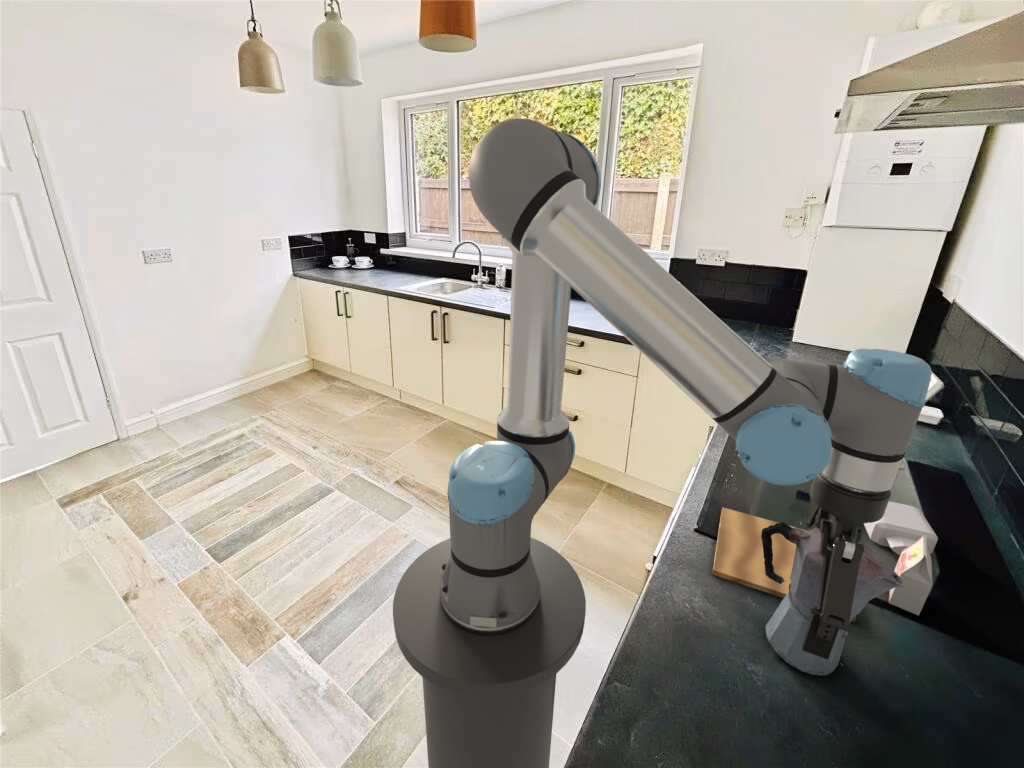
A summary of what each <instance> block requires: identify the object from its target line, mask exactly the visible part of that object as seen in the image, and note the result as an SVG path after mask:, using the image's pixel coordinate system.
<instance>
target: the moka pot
mask: <svg viewBox="0 0 1024 768" xmlns="http://www.w3.org/2000/svg"><path fill="white" fill-rule="evenodd" d="M790 526H791V525H789V524H787V522H783V521H781V522H778V523H776V524H775V525H774V526H773V525H770V526H769V527H767V528H763V529H762V534H761V538H762V545H763V553H764V555H763V556H764V559H765V561H764V564H765V575H766V576H767V577H769V578H770V579H772V580H774V581H776V582H777V583H780V584H782V582H784V581H785V580H784V579H783V577H781V576H779V575H777V574H775V573H774V567H773V564H772V562H773V553H772V551H773V549H772V538H771V535H773V534H775V533H779V534H782V535H783V536H784V537H785V538H786V539H787V540H788V541H790V542H792V543H794V544H796V551H795V556H794V562H793V567H792V572H791V577H790V579H791V583H790V584H789V593H787V595H786V596H785V597H784V598H782V600H781V602H780V603H779V605H778V607H777V608H776V609H775V611H774V613H773V614H772V615H771V617H770V619H769V620H768V621H767V623H766V625H765V634H766V638H767V641H768V643H769V645H770V646H771V648H772V649H773V650H774V652H775V653H776V654H777V655H778V656H779V657H780V658H781V659H782V660H783V661H784V662H786V663H787V664H788V665H790V666H791V667H794V668H795V669H797V670H798V671H800V672H804V673H806V674H809V675H812V676H821V677H824V676H829V675H830V674H832V673H833V672H834V671H835V670H836V668H837V667H838V666H839V664H840V663H839V662H840V660H841V656H842V652H843V649H844V645H845V640H846V638H847V637H848V635H849V632H848V630H847V631H845V630H842V629H839V630H838V633H837V636H836V639H835V642H834V644H833V647H832V650H831V653H830V656H829V659H828V660H827V659H825V658H822V657H819V656H816V655H814V654H811V653H808V652H805V651H803V650H802V644H803V641H804V638H805V635H806V632H807V628H808V625H809V622H810V619H811V616H812V613H810V608H814V607H815V606H816V607H818V601H819V592H820V584H821V576H822V567H823V559H824V558H823V556H822V555H821V554H820V543H821V533H820V529H819V528H815V529H812V530H810V531H808V530H807V531H808V532H805V531H803V530H801V529H802V528H800V529H798V528H799V527H796V528H792V527H790ZM858 543H860V544H863V542H861V541H859V542H858ZM863 546H864V552H863V554H862V557H861V561H860V564H859V569H858V575H857V581H856V586H855V592H854V598H853V604H852V609H851V615H850V621H849V624H850V623H851V622H852V621H851V620H852V618H853V617H854V616H856V617H857V615H859V614H860V613H861V612H862V610H863V609H864V608H865V607H866V606H867V604H868V603H869V602H870V601H871V600H873V599H875V598H878V597H879V596H881V595H883V594H886V593H887V592H890V590H891V589H893V588H895V587H904V583H903V581H902V579H901V577H899V576H898V575H897V574H896V572H894V570H893V569H892V568H890V566H887V565H886V564H884V562H883V561H882V559H881V557H880V555H879V554H878V552H877V551H875V550H873V549H872V548H870V547H869V546H868V545H866V544H863ZM827 548H828V550H830V551H833V549H831V548H829V547H827Z"/></svg>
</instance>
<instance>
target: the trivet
mask: <svg viewBox="0 0 1024 768" xmlns="http://www.w3.org/2000/svg"><path fill="white" fill-rule="evenodd" d="M776 523H779V522H778V521H774V520H770V519H768V518H767V519H766V518H763V517H759V516H756V515H751V514H748V513H745V512H741V511H738V510H734V509H730V508H727V507H724V506H723V507H721V510H720V517H719V524H718V531H717V538H716V544H715V552H714V558H713V565H712V572H711V575H712V576H715V577H719V578H721V579H725V580H726V581H727V580H728V581H731V582H733V583H736V584H739V585H741V586H742V585H743V586H745V587H748V588H751V589H754V590H757V591H760V592H763V593H765V594H769V595H772V596H775V597H779V598H780V599H784V597H785V596H786V595H787V593H789V584H790V583H791V579H790V577H791V572H792V567H793V562H794V556H795V551H796V544H794V543H792V542H790V541H788V540H787V539H786V538H785V537H784V536H783V535H782V534H779V533H775V534H773V535H771V538H772V549H773V551H772V553H773V562H772V564H773V567H774V573H775V574H777V575H779V576H781V577H783V579H784V580H785V581H784V582H782V584H780V583H777V582H776V581H774V580H772V579H770V578H769V577H767V576H766V575H765V564H764V561H765V559H764V556H763V555H764V553H763V545H762V538H761V534H762V529H763V528H767V527H769V526H770V525H773V526H774V525H775V524H776ZM789 526H790V527H792V528H798V529H801V530H803V531H805V532H807V531H808V530H807V529H804V528H799V527H796V526H792V525H789ZM856 619H857V615H856V616H854V617H853V618H852V620H851V622H853V623H855V622H856Z"/></svg>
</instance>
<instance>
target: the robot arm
mask: <svg viewBox="0 0 1024 768" xmlns="http://www.w3.org/2000/svg"><path fill="white" fill-rule="evenodd" d="M468 182H469V184H468V185H469V189H470V193H471V197H472V199H473V201H474V203H475V205H476V207H477V208H478V211H479V212H480V213H481V214H482V216H483V217H484V218H485V219H486V221H487V222H488V223H489V224H490V225H491V226H492V227H493V228H494V229H495V230H496V231H497V232H498V233H499V234H500V235H501V236H502V241H503V242H504V244H505V245H506V246H507V247H508V248H509V249H510V251H511V254H512V259H511V260H512V263H511V266H512V267H511V288H510V289H511V291H510V292H511V293H510V317H509V318H510V321H509V323H510V324H509V346H508V347H509V349H508V355H509V356H508V377H507V379H508V380H507V404H506V407H505V408H503V409H502V410H501V411H499V413H498V415H497V421H496V422H497V423H496V424H497V425H496V440H491V441H490V440H489V441H484V442H483V444H481V445H480V444H478V443H477V444H474V445H471V446H470V447H468V448H466V449H465V450H463V451H462V452H461V453H459V455H457V456H456V458H455V459H454V461H453V462H452V464H451V467H450V469H449V473H448V474H449V475H448V484H447V500H448V509H449V510H448V513H449V538H450V542H451V554H450V557H449V559H448V562H447V564H443V565H442V570H444V573H443V576H442V579H441V584H440V602H441V606H442V609H443V611H444V613H445V615H446V616H447V618H448V619H449V620H450V621H451V622H452V623H453V624H454V625H456V626H457V627H459V628H461V629H462V630H465V631H467V632H470V633H473V634H477V635H487V636H490V635H500V634H505V633H508V632H511V631H513V630H516V629H518V628H519V627H521V626H523V625H524V624H525V623H526V622H528V621H529V620H530V619H531V617H532V616H533V615H534V613H535V612H536V610H537V608H538V605H539V601H540V581H539V576H538V573H537V571H536V569H535V565H534V562H533V559H532V557H531V554H530V539H531V538H532V523H533V519H534V518H535V515H537V513H538V511H539V510H540V509H541V507H542V506H543V504H544V503H545V502H546V500H547V499H548V498H549V496H550V495H551V494H552V493H553V491H554V490H555V489H556V487H557V485H558V484H559V483H560V482H561V481H563V479H564V478H565V477H566V476H567V475H568V472H569V470H570V469H571V467H572V464H573V461H574V458H575V455H576V443H575V438H574V435H573V432H572V431H570V423H571V422H570V418H569V416H568V415H567V413H565V412H564V411H563V410H562V406H563V405H562V404H563V394H564V393H563V391H564V380H565V379H564V378H565V367H566V366H565V365H566V354H567V343H568V331H569V318H570V308H571V307H570V306H571V295H572V289H573V290H574V291H575V292H576V293H577V294H578V295H579V296H580V297H582V299H584V300H585V301H586V302H587V303H588V305H590V306H591V307H592V308H593V309H594V310H595V311H597V312H598V314H600V315H601V316H602V317H603V318H604V319H605V320H606V321H607V322H608V323H609V324H610V325H612V326H613V327H614V328H615V329H616V330H617V331H618V332H619V333H620V334H621V335H622V336H623V337H624V338H626V340H627V341H628V342H630V343H631V344H632V346H634V347H635V348H636V349H637V350H638V351H640V353H642V354H643V355H644V356H645V358H646V359H648V360H649V361H650V362H651V363H652V364H653V365H654V366H655V367H656V368H657V369H659V371H661V372H662V373H663V374H664V375H665V376H666V377H667V378H668V379H669V380H671V382H673V383H674V384H675V386H677V387H678V388H679V389H680V390H681V391H682V392H683V393H684V394H685V395H687V397H689V398H690V399H691V400H692V401H693V402H694V403H695V404H696V405H697V406H698V407H699V408H700V409H701V410H702V411H703V412H705V413H706V415H708V416H709V417H710V418H711V419H712V420H713V421H714V422H716V423H717V424H718V425H719V427H721V428H722V429H723V431H725V433H727V435H729V436H730V437H731V438H732V439H733V440H734V441H735V442H734V445H735V450H736V452H737V453H738V457H739V459H740V461H741V463H742V465H743V467H744V468H745V469H746V470H747V471H748V472H749V473H750V474H751V475H752V476H754V477H755V478H757V479H759V480H761V481H762V482H765V483H768V484H772V485H776V486H783V487H784V486H785V487H786V486H797V485H801V484H805V483H807V482H810V481H811V480H812V483H811V486H810V489H809V497H810V499H811V501H812V502H813V503H814V504H815V505H814V508H813V509H812V510H811V513H810V515H809V517H808V519H807V521H806V523H805V524H806V528H809V529H808V530H807V532H808V531H810V530H812V529H815V528H819V529H820V533H821V543H820V554H821V555H822V556H823V558H824V559H823V567H822V576H821V584H820V592H819V601H818V607H816V606H815V607H814V608H810V613H812V616H811V619H810V622H809V625H808V628H807V632H806V635H805V638H804V641H803V644H802V650H803V651H805V652H808V653H811V654H814V655H816V656H819V657H822V658H825V659H827V660H828V659H829V656H830V653H831V650H832V647H833V644H834V642H835V639H836V636H837V633H838V630H839V629H842V630H845V631H847V632H848V631H849V629H850V623H849V621H850V615H851V609H852V604H853V598H854V592H855V586H856V581H857V575H858V569H859V564H860V561H861V557H862V554H863V552H864V546H863V543H862V544H860V543H858V542H861V539H862V529H861V528H859V526H860V525H864V523H872V522H876V521H878V520H880V519H881V518H882V517H883V515H884V513H885V510H886V507H887V504H888V501H890V499H891V496H892V495H891V494H892V492H891V490H892V489H893V488H894V486H895V483H896V479H897V478H898V477H897V476H898V474H899V471H904V470H906V468H907V463H906V462H905V461H903V460H904V457H905V454H906V451H907V448H908V446H909V443H910V441H911V438H912V436H913V433H914V431H915V428H916V426H917V423H918V420H919V417H920V415H921V412H922V410H923V408H924V407H925V405H926V398H927V395H928V391H929V388H930V385H931V380H932V379H931V378H932V373H933V370H932V368H931V365H930V364H928V363H927V362H926V361H925V360H924V359H922V358H920V357H918V356H915V355H912V354H910V353H909V354H908V353H905V352H901V351H896V350H891V349H882V348H871V349H870V348H857V349H854V350H852V351H851V352H850V353H849V354H848V355H847V358H846V359H845V360H844V362H843V364H827V363H819V362H811V361H804V360H796V359H789V358H782V357H773V356H768V355H765V354H760V353H758V352H757V351H756V350H755V349H754V348H753V347H752V346H750V344H748V343H747V342H746V341H745V340H744V339H742V337H740V335H739V334H738V333H736V332H735V331H734V330H733V329H732V328H731V327H730V326H728V324H726V323H725V322H724V321H723V320H722V319H721V318H719V316H717V315H716V314H715V313H714V312H713V311H712V310H710V309H709V308H708V306H706V305H705V304H704V303H703V302H702V301H701V300H700V299H698V298H697V296H695V295H694V294H693V293H692V292H691V291H689V289H688V288H686V287H685V286H684V285H683V284H682V283H681V282H679V281H678V280H677V279H676V277H674V276H673V275H672V274H670V272H668V270H666V269H665V267H663V266H662V265H660V263H658V262H657V261H656V260H655V259H654V258H653V257H652V256H651V255H650V254H649V253H648V252H646V251H645V250H644V248H642V247H641V246H640V245H639V244H637V242H635V241H634V240H633V239H632V238H631V237H630V236H629V235H627V234H626V233H625V232H624V230H622V229H621V228H620V227H618V226H617V225H616V224H615V223H614V221H612V220H611V219H610V218H609V217H607V216H606V215H605V214H604V213H603V212H602V211H601V210H600V209H599V208H598V207H596V206H597V204H598V202H599V198H600V194H601V189H602V175H601V171H600V166H599V164H598V161H597V160H596V157H595V156H594V154H593V153H592V151H591V150H590V149H589V148H588V147H587V146H586V145H585V144H584V143H583V142H582V140H580V139H579V138H577V137H575V136H573V135H572V134H569V133H567V132H563V131H562V132H561V131H558V130H556V129H554V128H552V127H549V126H547V125H546V124H544V123H541V122H539V121H536V120H533V119H530V118H519V117H517V118H511V119H507V120H504V121H501V122H499V123H497V124H495V125H493V126H491V127H490V128H489V129H488V130H487V131H486V132H485V133H484V134H483V135H482V136H481V137H480V139H479V140H478V142H477V143H476V145H475V147H474V149H473V151H472V154H471V157H470V161H469V168H468ZM827 547H829V548H831V549H833V551H830V550H828V548H827Z"/></svg>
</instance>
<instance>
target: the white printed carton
mask: <svg viewBox="0 0 1024 768" xmlns="http://www.w3.org/2000/svg"><path fill="white" fill-rule="evenodd" d="M930 556H931V554H929V551H928V547H927V543H926V537H924V535H923V536H922V537H921V538H920V539H919V540H918V541H916V542H915V543H914V544H912V545H910V546H909V547H907V548H906V549H904V550H903V551H902V552H901V555H899V558H898V560H897V563H896V565H895V568H894V570H893V571H894V572H896V574H897V575H898V576H899V577H901V579H902V581H903V583H904V587H895V588H893V589H891V590H889V594H888V604H890V605H892V606H895V607H896V608H897V607H898V608H899V609H902V610H904V611H906V612H909V613H911V614H914V615H916V616H917V617H918V616H920V614H921V611H922V610H923V608H924V605H925V603H926V601H927V598H928V596H929V594H930V593H931V589H932V587H933V564H932V563H933V561H932V557H931V558H930Z"/></svg>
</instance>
